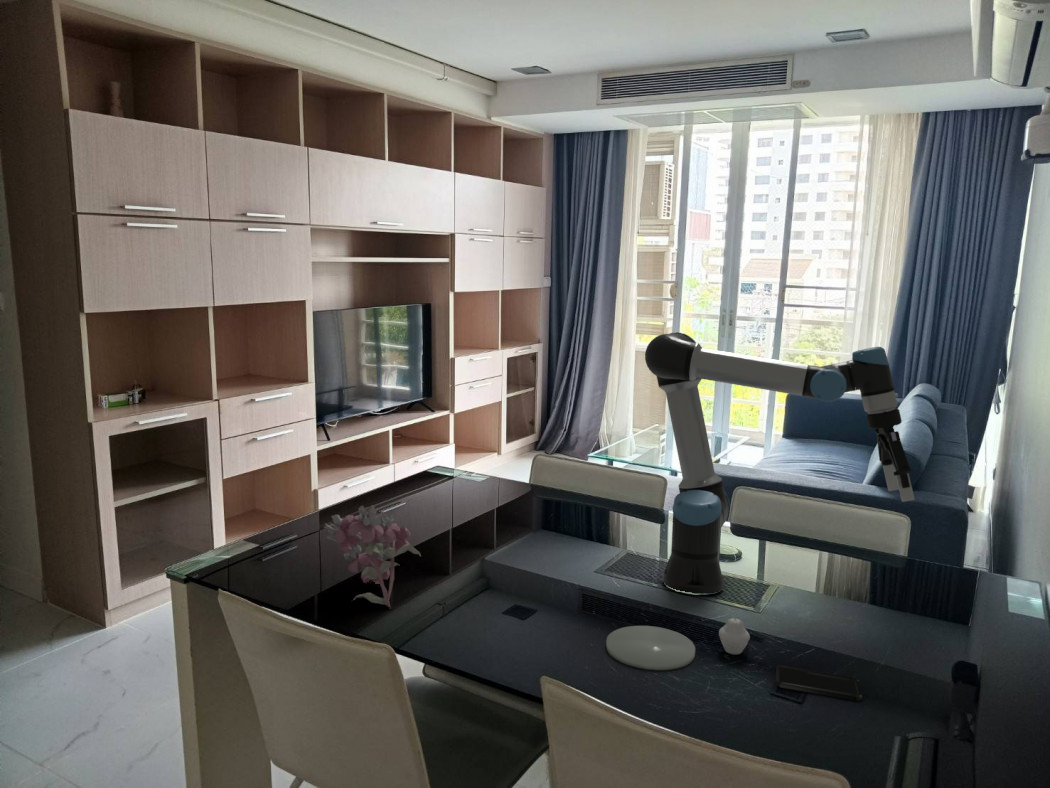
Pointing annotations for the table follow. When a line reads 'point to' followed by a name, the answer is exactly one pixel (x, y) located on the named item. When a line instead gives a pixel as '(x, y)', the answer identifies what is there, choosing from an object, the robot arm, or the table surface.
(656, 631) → the ceramic plate
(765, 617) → the table surface
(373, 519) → the flower
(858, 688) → the phone
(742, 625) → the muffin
